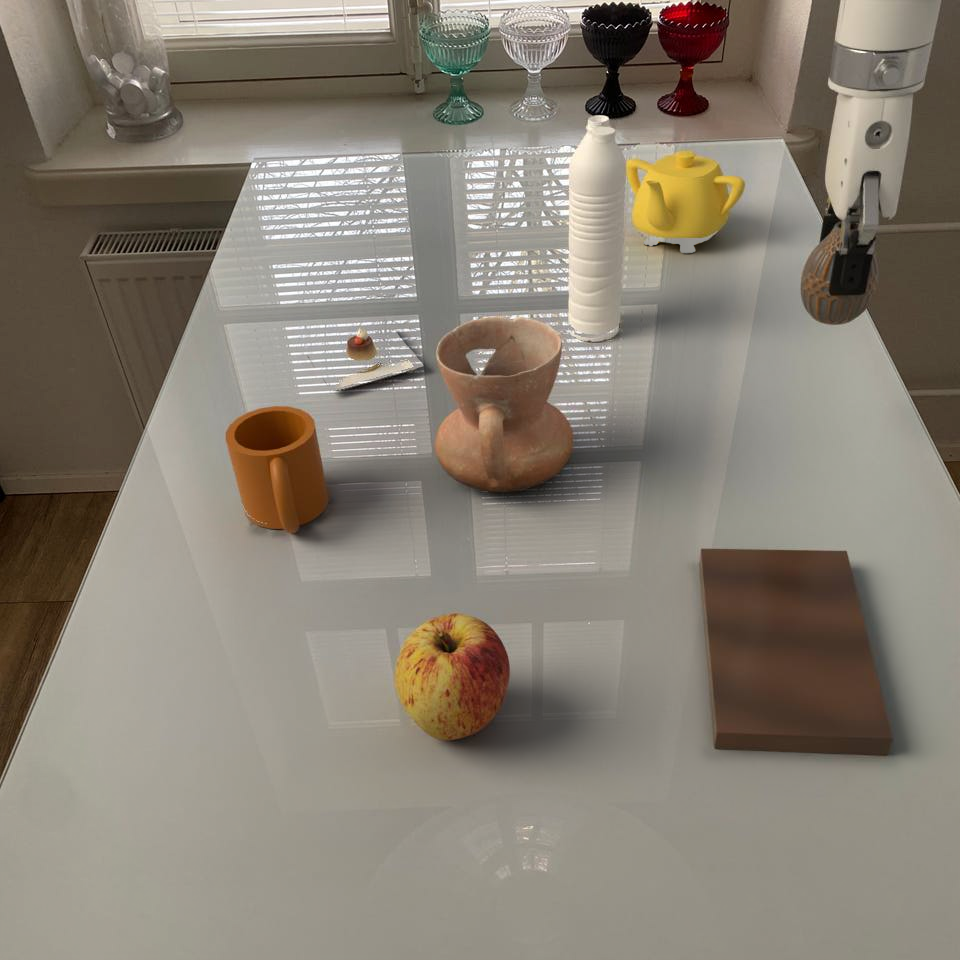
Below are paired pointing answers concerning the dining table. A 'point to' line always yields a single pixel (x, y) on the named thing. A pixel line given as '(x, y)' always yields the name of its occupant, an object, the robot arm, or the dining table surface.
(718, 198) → the teapot
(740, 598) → the walnut board
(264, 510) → the mug
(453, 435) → the ceramic jug
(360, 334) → the pudding and tray
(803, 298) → the vase
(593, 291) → the water bottle
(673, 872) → the dining table surface
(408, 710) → the apple
